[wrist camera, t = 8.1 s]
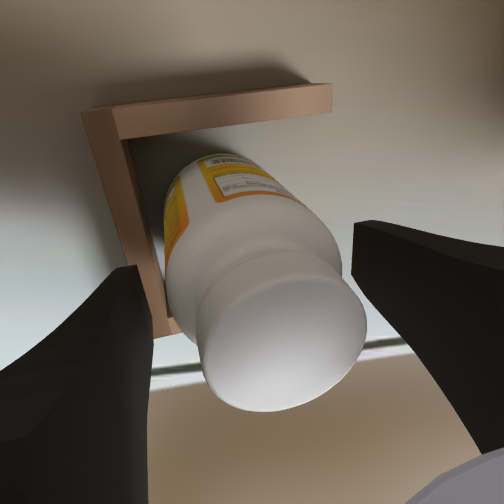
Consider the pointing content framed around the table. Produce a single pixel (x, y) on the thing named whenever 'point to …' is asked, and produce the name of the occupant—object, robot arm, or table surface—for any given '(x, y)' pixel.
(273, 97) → the bay
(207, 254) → the supplement bottle
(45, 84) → the table surface
